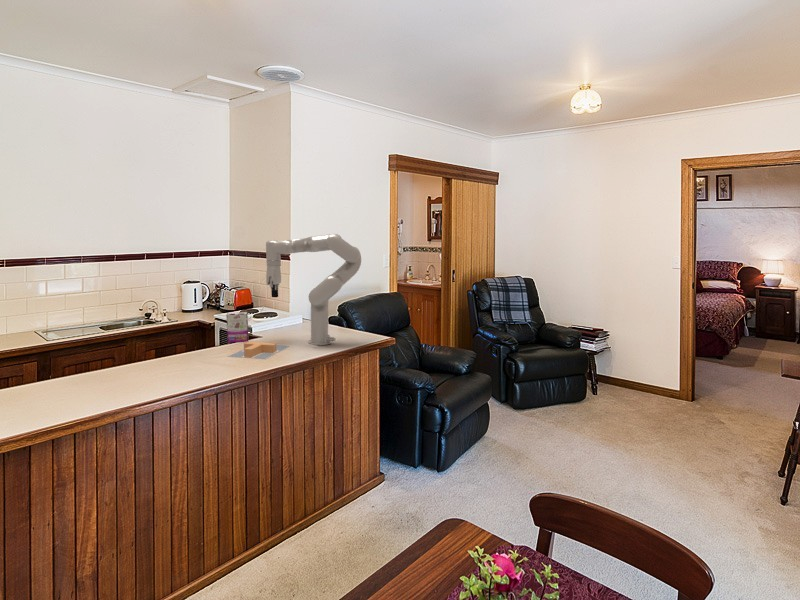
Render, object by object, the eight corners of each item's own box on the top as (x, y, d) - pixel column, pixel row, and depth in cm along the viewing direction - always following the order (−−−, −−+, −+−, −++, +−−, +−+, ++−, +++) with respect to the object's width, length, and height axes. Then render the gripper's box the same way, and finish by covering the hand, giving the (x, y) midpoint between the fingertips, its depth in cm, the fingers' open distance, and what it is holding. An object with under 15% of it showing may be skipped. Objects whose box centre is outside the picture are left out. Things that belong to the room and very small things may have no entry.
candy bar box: (248, 340, 293) (247, 311, 291) (248, 342, 288) (247, 313, 286) (227, 341, 290) (226, 312, 288) (227, 343, 285) (226, 313, 283)
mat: (290, 346, 279) (290, 345, 279) (265, 360, 250) (265, 359, 250) (256, 344, 283) (256, 343, 283) (227, 357, 254) (227, 356, 254)
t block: (276, 351, 266) (276, 343, 266) (263, 358, 252) (262, 350, 251) (247, 349, 269) (247, 341, 269) (233, 356, 255) (232, 348, 254)
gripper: (272, 262, 289) (273, 295, 292) (261, 264, 275) (262, 298, 277) (285, 262, 288) (286, 295, 291) (274, 264, 273) (276, 299, 276)
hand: (274, 297), depth 284 cm, fingers closed
